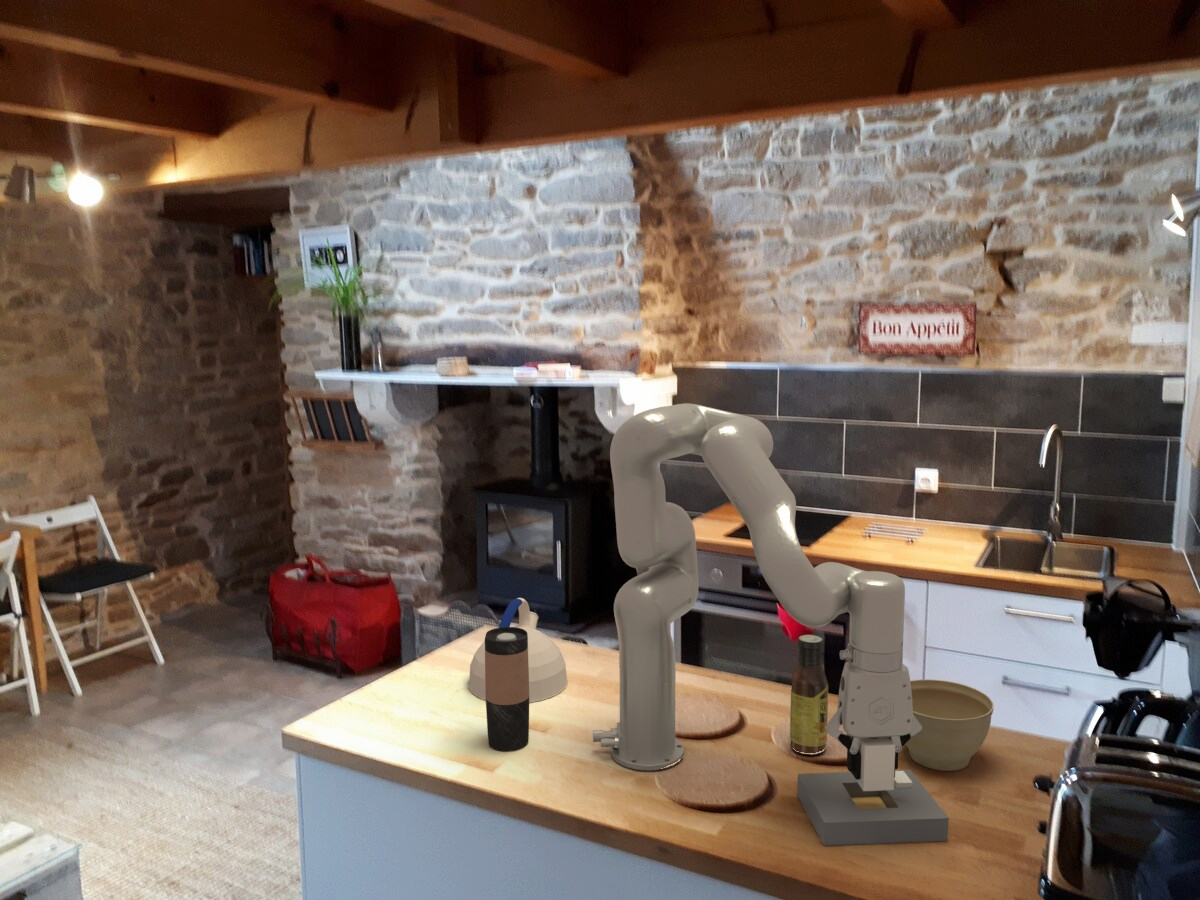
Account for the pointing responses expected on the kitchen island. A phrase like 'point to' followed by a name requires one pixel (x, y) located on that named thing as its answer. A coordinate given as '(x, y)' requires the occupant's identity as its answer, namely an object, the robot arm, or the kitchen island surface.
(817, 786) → the socket
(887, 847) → the kitchen island surface
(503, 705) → the travel mug
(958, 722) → the planter bowl
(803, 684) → the sauce bottle
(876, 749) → the plug
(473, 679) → the kettle
